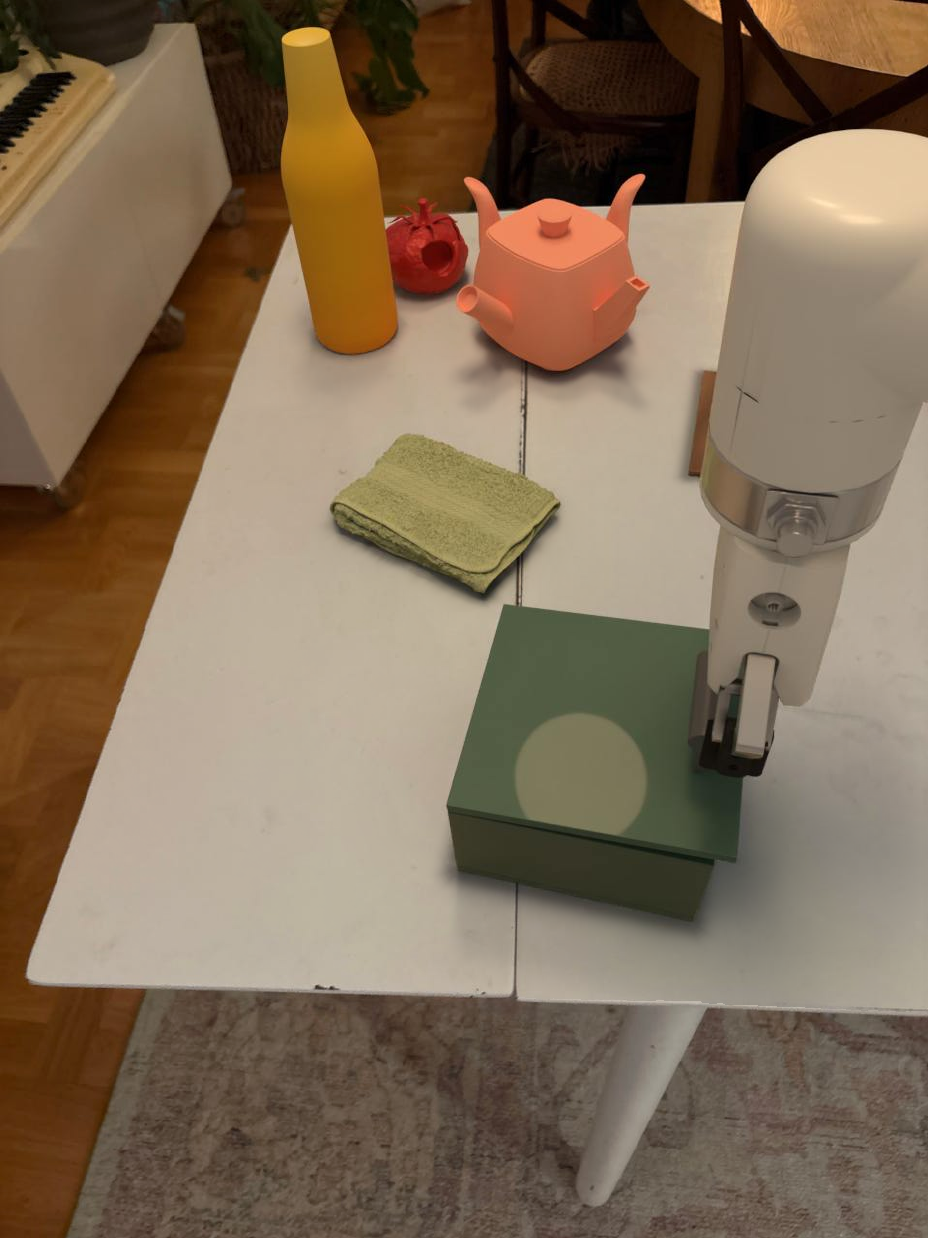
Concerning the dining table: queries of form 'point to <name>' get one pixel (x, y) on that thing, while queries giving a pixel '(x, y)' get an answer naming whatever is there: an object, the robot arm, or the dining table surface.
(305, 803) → the dining table surface
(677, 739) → the lid
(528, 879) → the chest
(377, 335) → the beer bottle
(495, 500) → the washcloth
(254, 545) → the dining table surface
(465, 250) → the pomegranate
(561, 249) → the teapot
